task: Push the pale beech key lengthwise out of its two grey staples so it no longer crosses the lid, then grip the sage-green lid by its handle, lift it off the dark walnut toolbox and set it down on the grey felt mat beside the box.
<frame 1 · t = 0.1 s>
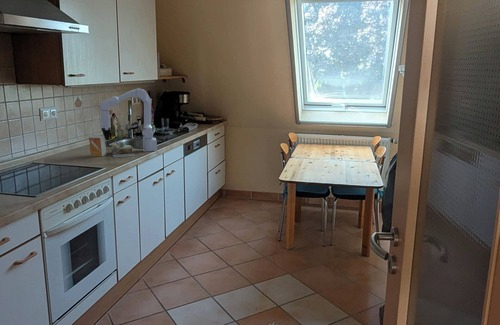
hand: (106, 139, 280), 10 cm above the worktop, tool pointing down, fingers open, 7 cm apart
mat: (123, 155, 275), on the worktop
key: (114, 145, 282), point 6 cm above the worktop, slide at 0.0 cm
lid: (121, 147, 284), point 4 cm above the worktop, touching toolbox
small box: (98, 155, 276), on the worktop, touching gripper
toolbox: (122, 153, 285), on the worktop
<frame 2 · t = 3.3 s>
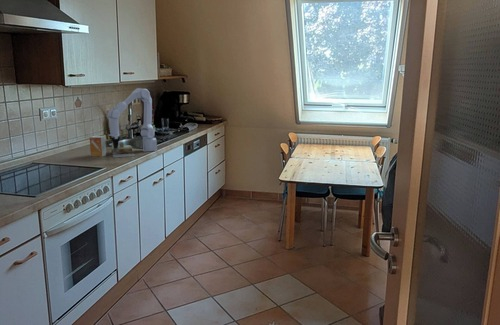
hand: (115, 147, 276), 5 cm above the worktop, tool pointing down, fingers closed
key: (114, 145, 282), point 6 cm above the worktop, slide at 0.1 cm, touching gripper
small box: (98, 155, 276), on the worktop
everything else where it was.
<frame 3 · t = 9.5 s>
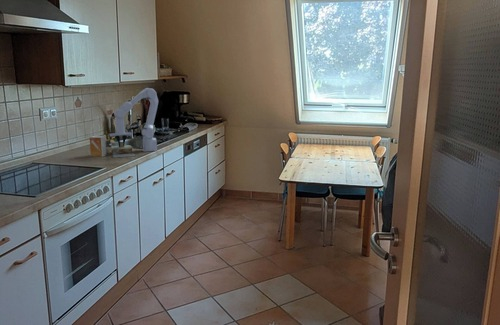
hand: (121, 146, 284), 5 cm above the worktop, tool pointing down, fingers closed on lid, 2 cm apart
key: (112, 142, 293), point 6 cm above the worktop, slide at 13.0 cm
lid: (121, 147, 284), point 4 cm above the worktop, touching gripper, toolbox
everything else where it was.
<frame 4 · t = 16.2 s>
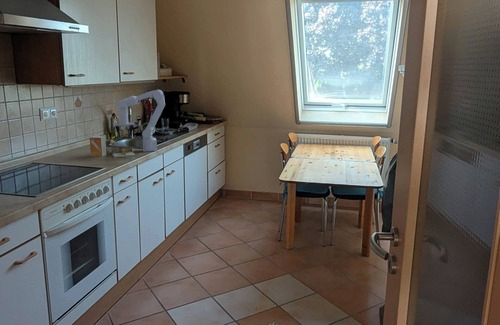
hand: (125, 136, 290), 10 cm above the worktop, tool pointing down, fingers open, 7 cm apart
lid: (123, 155, 276), resting on mat
everything else where it was.
at the end: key slide at 13.0 cm; lid inside the target area (0.4 cm from its centre), resting on mat; lid tilted 0° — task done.
